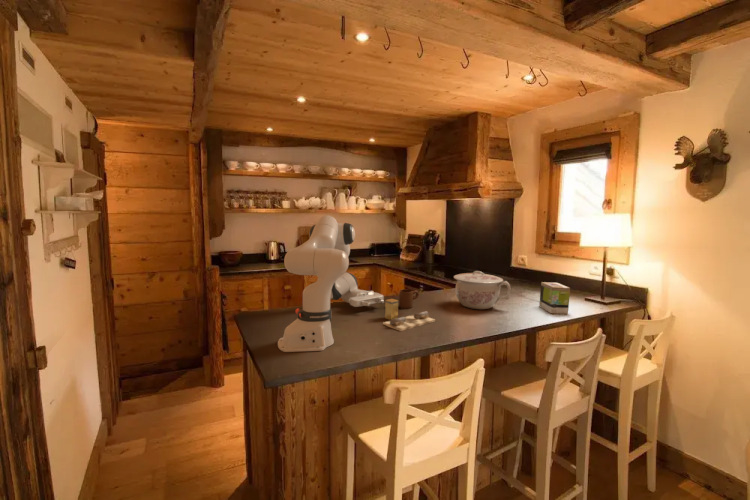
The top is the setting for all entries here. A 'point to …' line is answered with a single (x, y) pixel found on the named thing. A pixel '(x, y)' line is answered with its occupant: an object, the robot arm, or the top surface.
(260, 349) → the top surface
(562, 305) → the tea box
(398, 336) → the top surface
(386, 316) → the pale yellow tall box
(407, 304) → the mug
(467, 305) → the chamber pot
